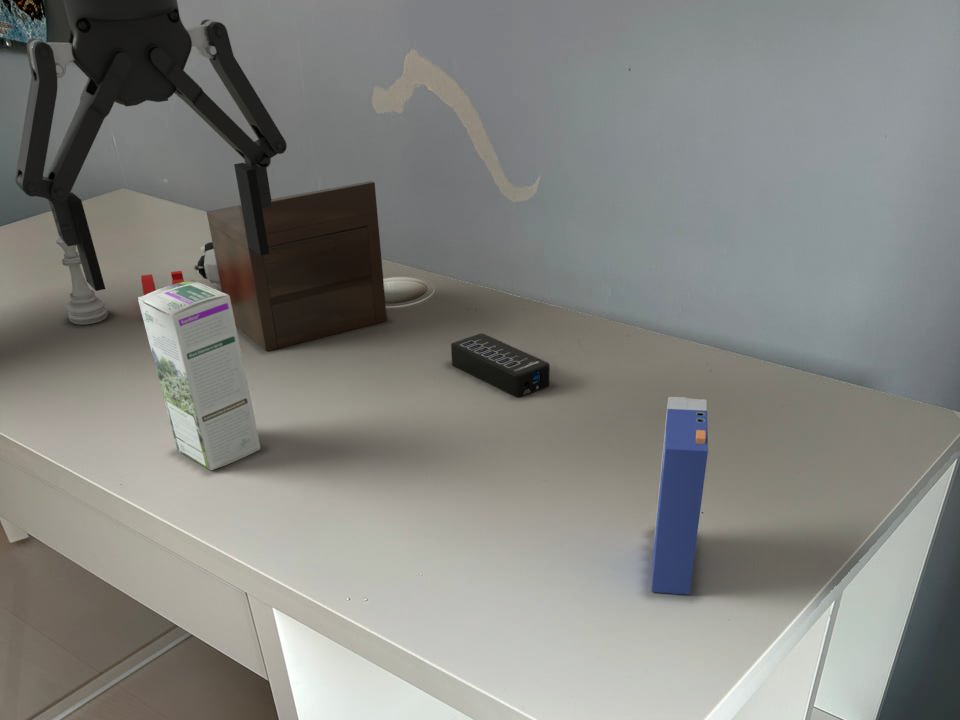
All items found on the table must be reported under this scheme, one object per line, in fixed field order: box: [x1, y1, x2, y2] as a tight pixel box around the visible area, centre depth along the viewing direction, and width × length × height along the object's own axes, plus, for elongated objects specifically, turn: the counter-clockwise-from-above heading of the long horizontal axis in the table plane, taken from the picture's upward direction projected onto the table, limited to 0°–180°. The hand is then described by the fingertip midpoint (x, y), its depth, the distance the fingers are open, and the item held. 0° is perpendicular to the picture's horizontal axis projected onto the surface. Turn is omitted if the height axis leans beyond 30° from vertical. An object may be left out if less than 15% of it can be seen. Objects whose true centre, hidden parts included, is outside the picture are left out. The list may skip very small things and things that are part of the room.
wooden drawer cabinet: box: [206, 180, 388, 352], centre depth 110 cm, size 12×15×15 cm
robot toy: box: [192, 241, 221, 287], centre depth 125 cm, size 12×4×15 cm
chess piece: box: [55, 237, 109, 326], centre depth 114 cm, size 4×4×10 cm
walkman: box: [651, 396, 709, 595], centre depth 70 cm, size 8×3×12 cm, turn 170°
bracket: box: [140, 270, 185, 296], centre depth 118 cm, size 6×5×3 cm
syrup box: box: [137, 279, 261, 471], centre depth 85 cm, size 6×6×14 cm
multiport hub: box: [450, 333, 551, 398], centre depth 100 cm, size 4×11×2 cm, turn 39°
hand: (180, 268), depth 79 cm, fingers open, 13 cm apart
